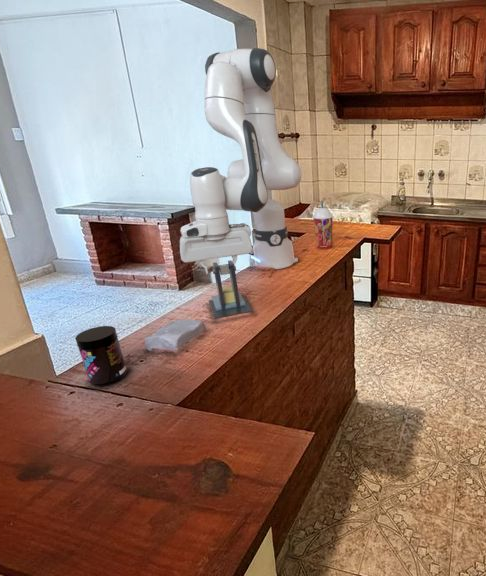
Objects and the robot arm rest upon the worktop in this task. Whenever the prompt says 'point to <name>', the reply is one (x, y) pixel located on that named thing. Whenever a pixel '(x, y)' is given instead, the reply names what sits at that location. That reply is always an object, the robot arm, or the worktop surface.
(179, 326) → the stone block
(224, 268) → the arm
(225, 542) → the worktop surface
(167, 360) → the worktop surface
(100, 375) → the supplement container
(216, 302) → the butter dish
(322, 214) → the smoothie
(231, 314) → the butter cutter
